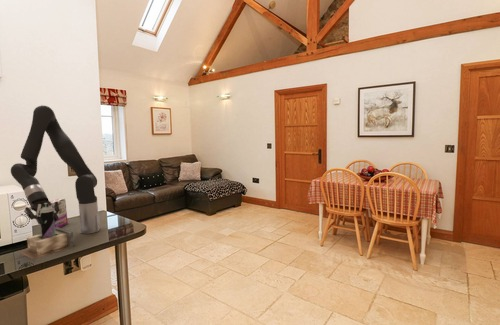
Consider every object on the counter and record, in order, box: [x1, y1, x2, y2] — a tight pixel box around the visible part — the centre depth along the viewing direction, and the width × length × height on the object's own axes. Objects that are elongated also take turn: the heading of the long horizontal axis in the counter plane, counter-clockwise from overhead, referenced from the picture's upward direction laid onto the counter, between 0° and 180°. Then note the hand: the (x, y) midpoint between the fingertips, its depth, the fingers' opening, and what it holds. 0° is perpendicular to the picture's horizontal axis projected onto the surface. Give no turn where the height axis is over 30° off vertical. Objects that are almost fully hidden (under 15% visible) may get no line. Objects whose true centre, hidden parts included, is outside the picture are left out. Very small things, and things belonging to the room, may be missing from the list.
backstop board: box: [17, 227, 75, 260], centre depth 132 cm, size 17×17×8 cm
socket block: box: [26, 230, 68, 255], centre depth 133 cm, size 12×12×6 cm
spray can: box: [40, 204, 56, 239], centre depth 133 cm, size 6×6×20 cm
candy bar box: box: [50, 198, 69, 228], centre depth 167 cm, size 11×5×16 cm, turn 179°
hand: (49, 222), depth 132 cm, fingers closed on spray can, 5 cm apart
